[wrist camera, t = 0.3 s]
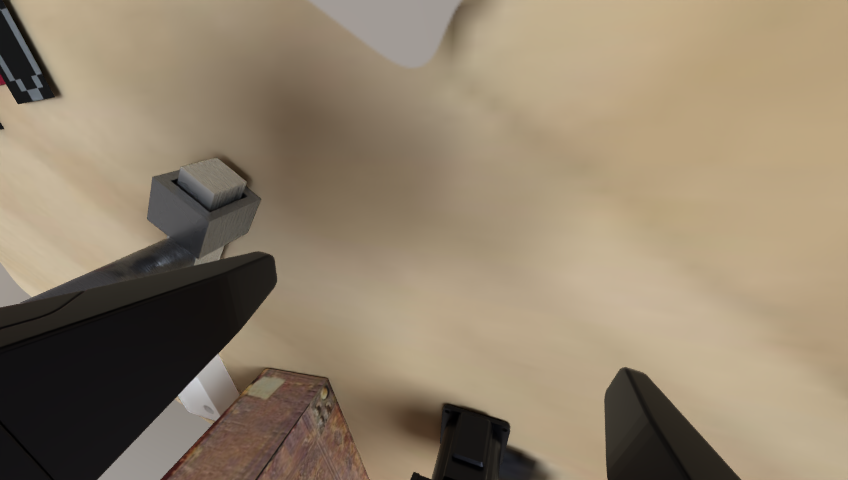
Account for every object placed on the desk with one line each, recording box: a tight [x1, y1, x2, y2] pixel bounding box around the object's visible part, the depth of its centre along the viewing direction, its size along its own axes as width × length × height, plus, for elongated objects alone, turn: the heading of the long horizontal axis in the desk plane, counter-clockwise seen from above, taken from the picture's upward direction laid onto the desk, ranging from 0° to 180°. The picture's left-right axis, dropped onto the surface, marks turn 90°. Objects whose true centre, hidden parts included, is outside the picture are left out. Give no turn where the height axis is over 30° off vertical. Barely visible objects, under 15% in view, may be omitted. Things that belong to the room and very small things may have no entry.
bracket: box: [178, 354, 240, 421], centre depth 41 cm, size 13×7×8 cm, turn 7°
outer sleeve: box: [147, 170, 261, 259], centre depth 26 cm, size 4×5×5 cm
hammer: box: [20, 158, 247, 304], centre depth 23 cm, size 12×3×12 cm, turn 144°
